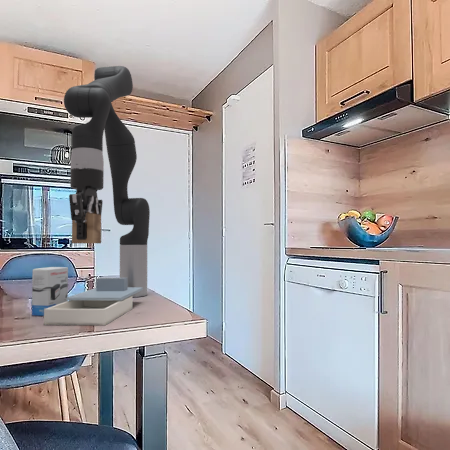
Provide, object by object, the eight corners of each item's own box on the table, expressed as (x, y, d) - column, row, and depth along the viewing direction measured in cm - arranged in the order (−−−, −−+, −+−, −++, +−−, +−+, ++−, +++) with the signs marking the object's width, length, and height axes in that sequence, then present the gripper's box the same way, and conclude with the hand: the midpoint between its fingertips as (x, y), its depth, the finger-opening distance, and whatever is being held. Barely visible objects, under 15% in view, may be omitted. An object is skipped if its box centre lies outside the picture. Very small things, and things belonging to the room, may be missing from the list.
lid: (97, 289, 114) (97, 275, 114) (142, 289, 113) (142, 275, 114) (66, 300, 94) (66, 283, 94) (121, 300, 93) (121, 283, 94)
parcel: (81, 243, 93) (81, 215, 93) (101, 243, 92) (101, 214, 93) (71, 243, 88) (72, 213, 88) (92, 243, 87) (93, 213, 88)
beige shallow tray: (82, 308, 103) (82, 295, 104) (132, 308, 103) (132, 295, 103) (43, 324, 84) (44, 309, 84) (105, 325, 83) (105, 309, 83)
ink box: (47, 316, 93) (48, 269, 94) (30, 315, 94) (31, 269, 95) (68, 310, 101) (69, 266, 102) (52, 309, 102) (53, 266, 103)
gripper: (84, 174, 98) (84, 239, 97) (57, 163, 84) (56, 239, 83) (112, 174, 98) (112, 239, 97) (90, 163, 83) (89, 239, 83)
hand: (86, 239), depth 90 cm, fingers closed on parcel, 5 cm apart
